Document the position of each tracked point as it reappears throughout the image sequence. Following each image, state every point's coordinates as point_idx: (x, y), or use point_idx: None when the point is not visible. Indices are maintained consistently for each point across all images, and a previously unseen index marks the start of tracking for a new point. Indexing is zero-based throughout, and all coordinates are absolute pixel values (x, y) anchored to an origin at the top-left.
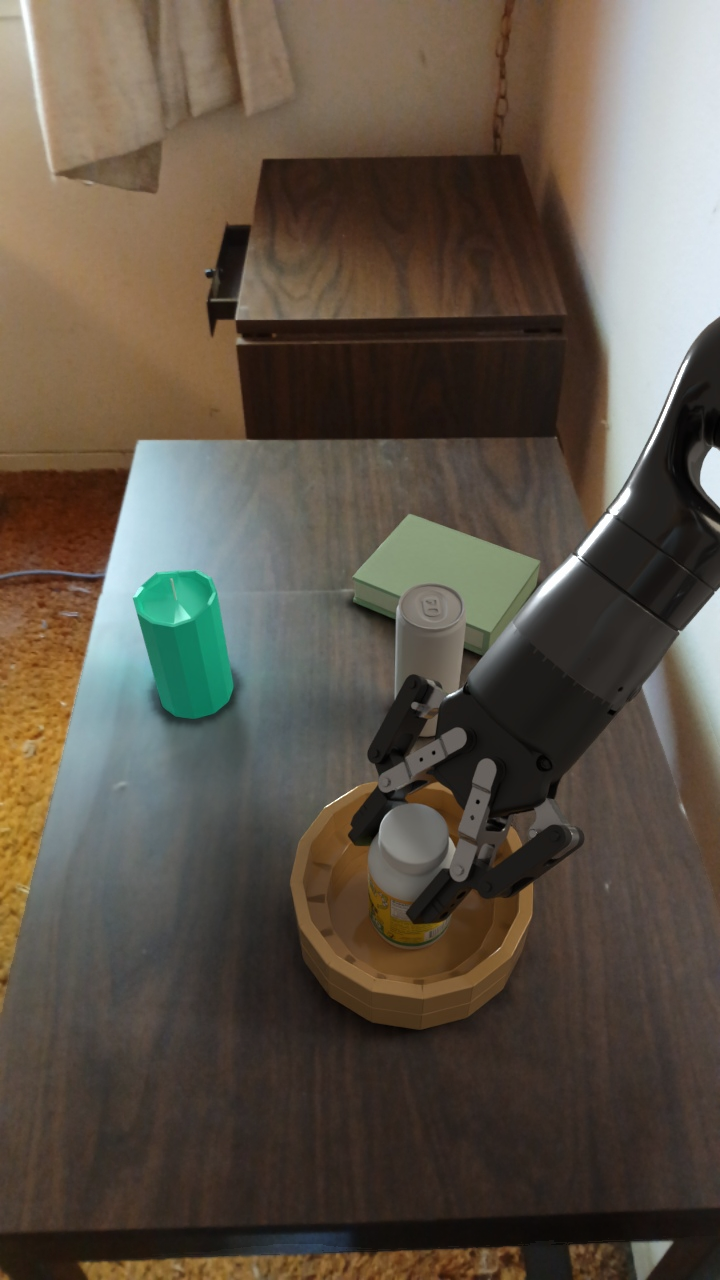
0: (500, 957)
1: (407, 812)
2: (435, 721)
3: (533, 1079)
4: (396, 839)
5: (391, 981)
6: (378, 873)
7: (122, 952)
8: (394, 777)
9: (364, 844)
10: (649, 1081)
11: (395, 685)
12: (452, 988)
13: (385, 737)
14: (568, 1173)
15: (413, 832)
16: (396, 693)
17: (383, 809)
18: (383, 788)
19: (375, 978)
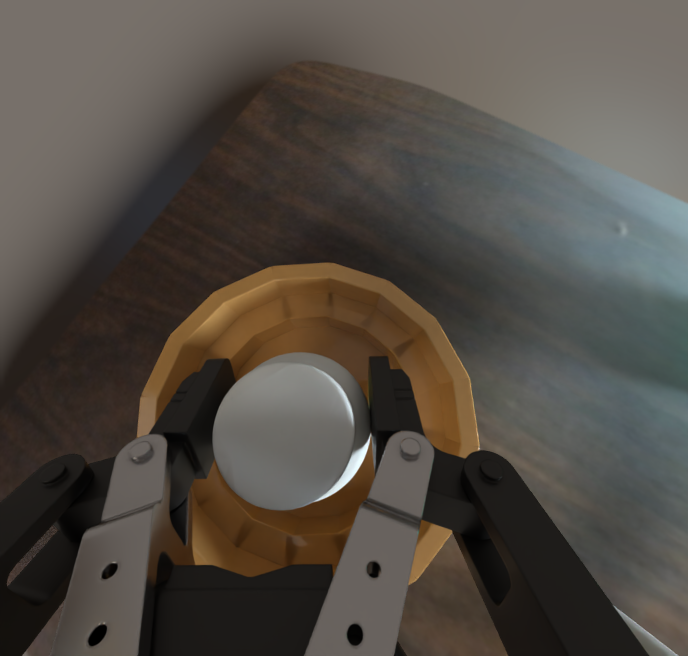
0: None
1: (329, 449)
2: None
3: (113, 418)
4: (291, 392)
5: (208, 316)
6: (299, 357)
7: (434, 168)
8: (404, 471)
9: (368, 377)
10: None
11: (654, 639)
12: (154, 372)
13: (519, 523)
14: (42, 391)
15: (283, 431)
16: (634, 626)
17: (374, 418)
18: (402, 437)
19: (224, 303)
